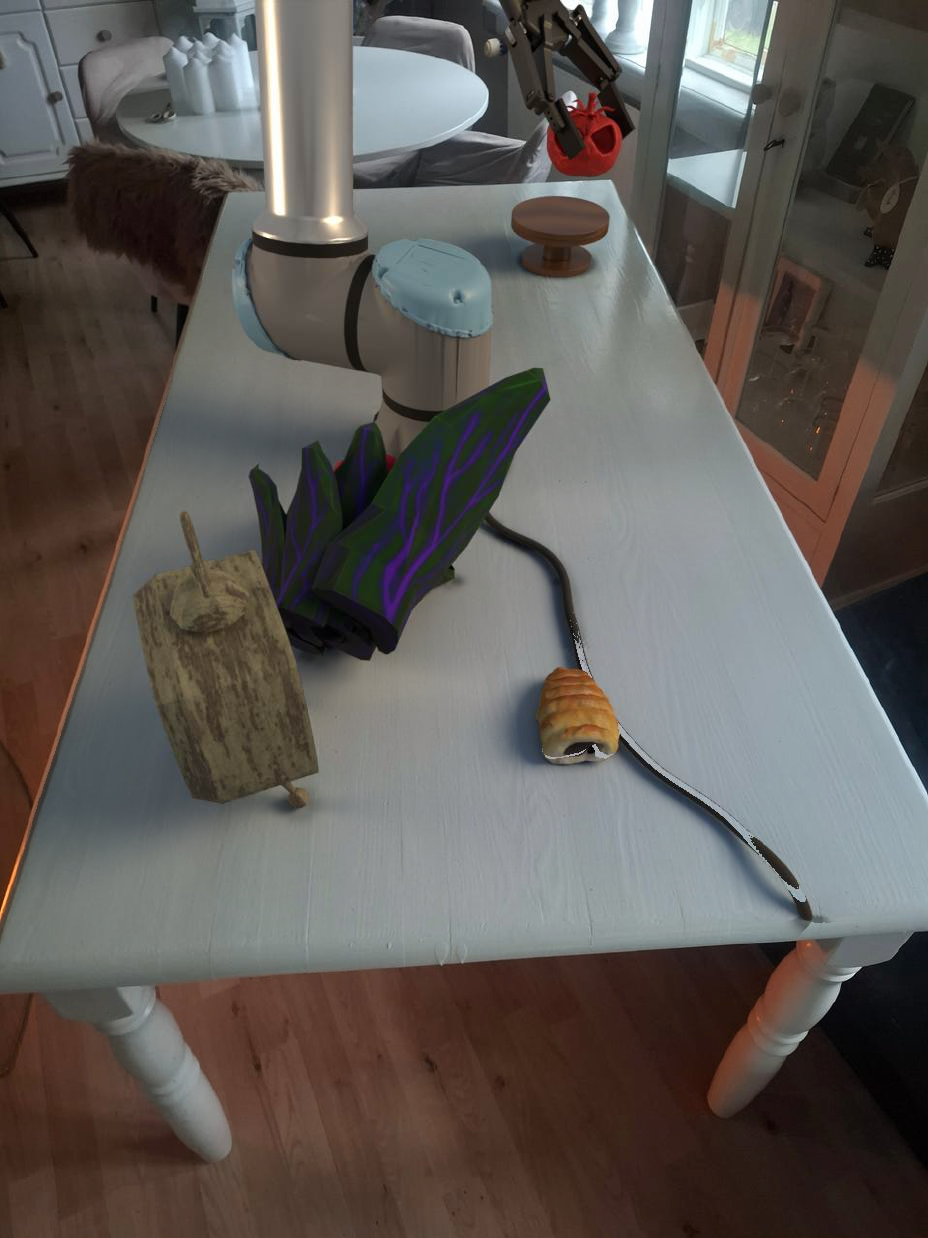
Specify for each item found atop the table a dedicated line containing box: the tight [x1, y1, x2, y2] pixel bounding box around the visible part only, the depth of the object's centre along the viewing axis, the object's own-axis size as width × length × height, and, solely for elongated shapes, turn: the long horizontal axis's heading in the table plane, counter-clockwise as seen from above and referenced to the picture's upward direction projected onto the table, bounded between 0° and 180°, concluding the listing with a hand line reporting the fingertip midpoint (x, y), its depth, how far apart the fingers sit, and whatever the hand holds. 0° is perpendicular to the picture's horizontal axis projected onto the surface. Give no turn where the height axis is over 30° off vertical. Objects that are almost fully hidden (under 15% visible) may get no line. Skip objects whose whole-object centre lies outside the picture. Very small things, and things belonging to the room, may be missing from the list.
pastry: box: [535, 666, 619, 765], centre depth 73 cm, size 9×7×4 cm
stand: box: [510, 195, 611, 278], centre depth 134 cm, size 15×15×7 cm
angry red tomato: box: [546, 91, 623, 178], centre depth 114 cm, size 10×10×9 cm
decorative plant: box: [248, 367, 552, 662], centre depth 79 cm, size 21×26×30 cm
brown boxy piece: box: [132, 510, 320, 809], centre depth 62 cm, size 14×9×25 cm, turn 22°
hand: (602, 143), depth 113 cm, fingers closed on angry red tomato, 9 cm apart
